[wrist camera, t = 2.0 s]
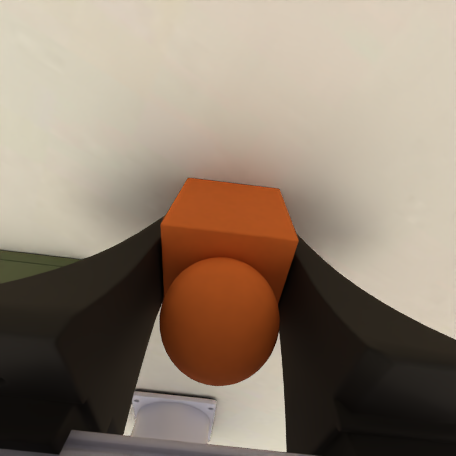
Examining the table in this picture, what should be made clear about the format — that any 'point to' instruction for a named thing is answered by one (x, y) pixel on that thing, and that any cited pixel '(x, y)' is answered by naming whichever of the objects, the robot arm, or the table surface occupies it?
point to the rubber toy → (223, 278)
